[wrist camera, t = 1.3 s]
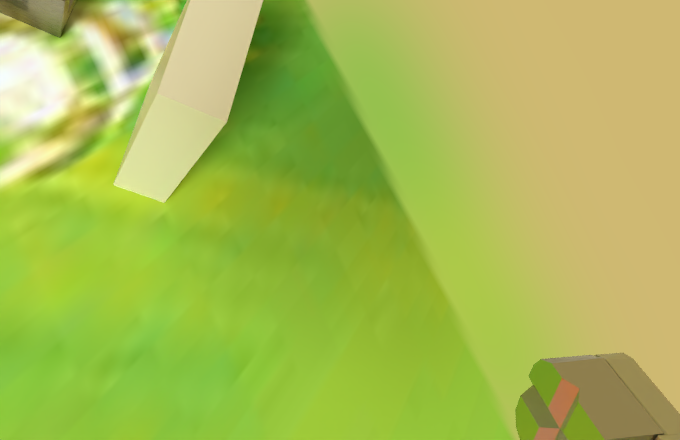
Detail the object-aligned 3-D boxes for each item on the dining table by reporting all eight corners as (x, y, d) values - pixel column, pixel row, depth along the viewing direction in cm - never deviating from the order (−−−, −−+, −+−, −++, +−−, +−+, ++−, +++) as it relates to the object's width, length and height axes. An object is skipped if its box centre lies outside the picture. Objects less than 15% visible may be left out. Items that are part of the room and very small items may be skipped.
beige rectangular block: (113, 184, 35) (157, 93, 24) (149, 83, 37) (203, -37, 27) (164, 202, 36) (226, 122, 26) (196, 103, 38) (264, -6, 28)
